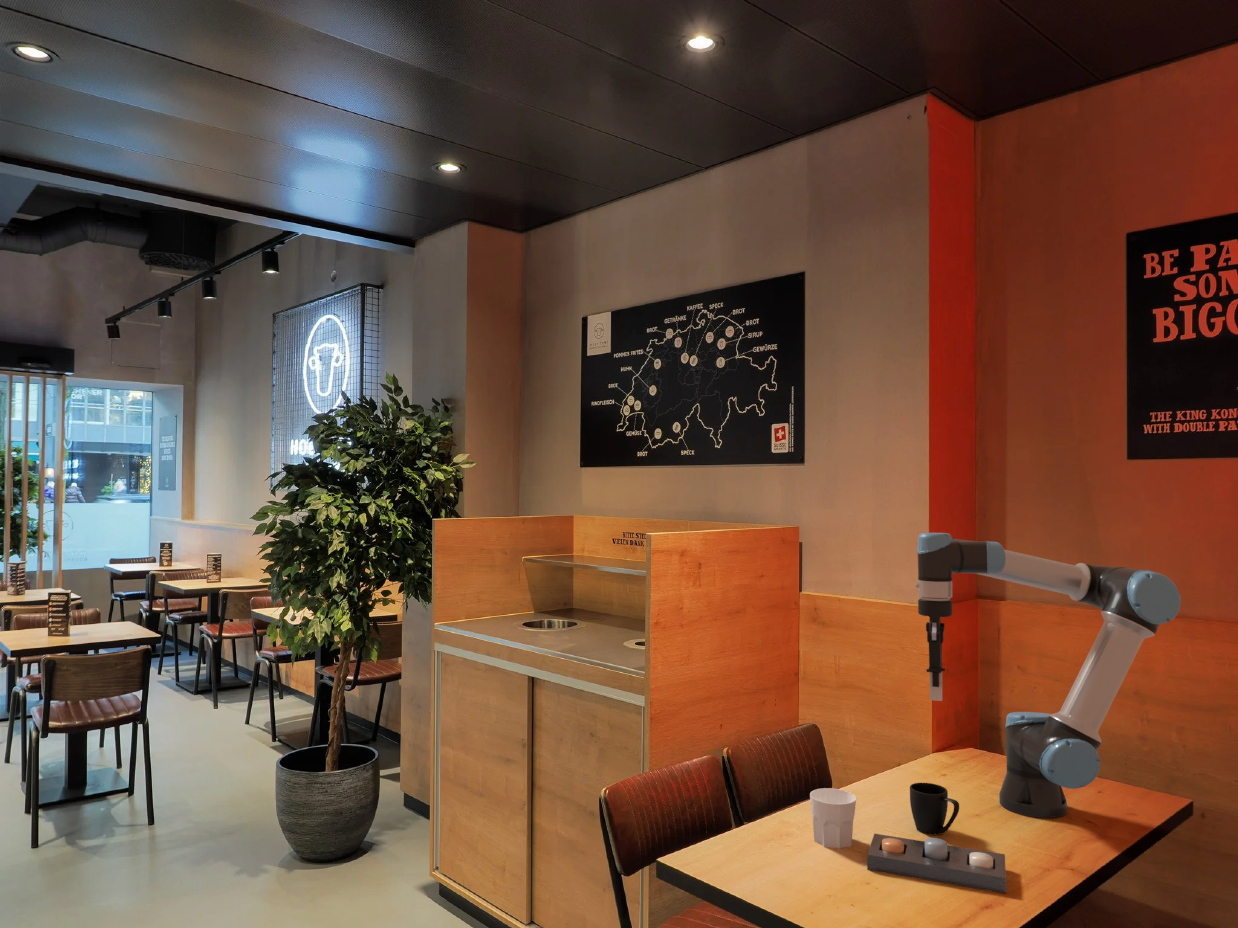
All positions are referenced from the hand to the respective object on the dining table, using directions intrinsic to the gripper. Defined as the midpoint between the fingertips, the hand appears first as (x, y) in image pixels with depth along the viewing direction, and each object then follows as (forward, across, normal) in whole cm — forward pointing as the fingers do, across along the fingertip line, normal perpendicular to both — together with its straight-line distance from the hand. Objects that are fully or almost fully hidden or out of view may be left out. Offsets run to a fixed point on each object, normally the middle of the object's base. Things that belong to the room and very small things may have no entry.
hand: (936, 699), depth 196 cm
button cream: (+29, +24, +10) cm, 39 cm away
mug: (+30, +4, 0) cm, 30 cm away
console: (+29, +24, +1) cm, 38 cm away
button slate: (+28, +24, +1) cm, 36 cm away
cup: (+30, +18, -21) cm, 40 cm away
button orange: (+29, +24, -8) cm, 38 cm away
